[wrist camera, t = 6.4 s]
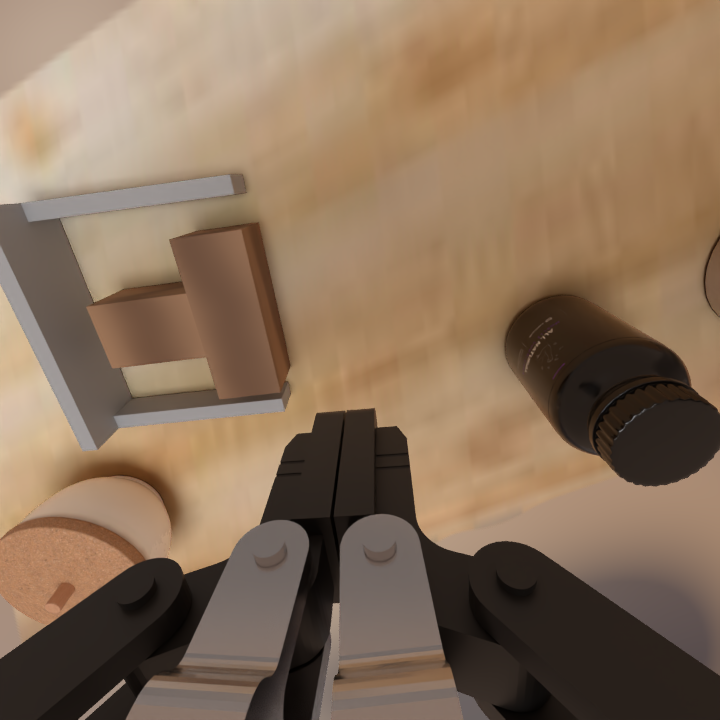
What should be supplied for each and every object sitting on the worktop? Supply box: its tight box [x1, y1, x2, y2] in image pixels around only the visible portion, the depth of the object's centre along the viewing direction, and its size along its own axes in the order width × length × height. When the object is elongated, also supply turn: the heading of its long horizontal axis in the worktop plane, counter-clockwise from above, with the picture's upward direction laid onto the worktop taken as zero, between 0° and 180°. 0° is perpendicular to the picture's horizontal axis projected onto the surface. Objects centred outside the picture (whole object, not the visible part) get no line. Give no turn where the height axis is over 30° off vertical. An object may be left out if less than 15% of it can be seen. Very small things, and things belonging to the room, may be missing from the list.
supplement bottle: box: [506, 295, 720, 486], centre depth 23 cm, size 7×7×12 cm
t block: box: [86, 222, 290, 399], centre depth 26 cm, size 10×10×4 cm
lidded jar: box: [0, 475, 171, 625], centre depth 31 cm, size 11×11×9 cm
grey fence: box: [0, 174, 291, 451], centre depth 25 cm, size 13×15×5 cm
